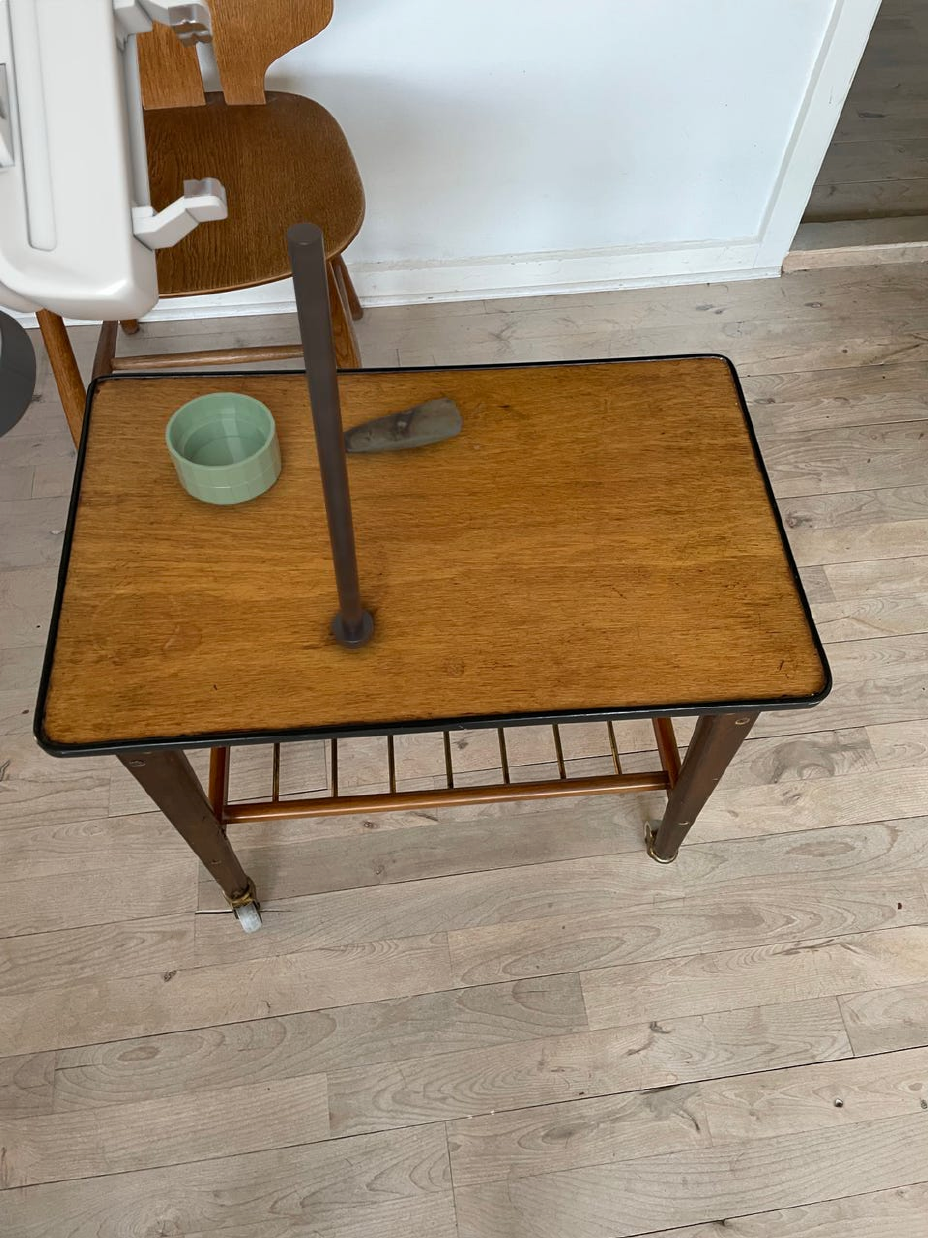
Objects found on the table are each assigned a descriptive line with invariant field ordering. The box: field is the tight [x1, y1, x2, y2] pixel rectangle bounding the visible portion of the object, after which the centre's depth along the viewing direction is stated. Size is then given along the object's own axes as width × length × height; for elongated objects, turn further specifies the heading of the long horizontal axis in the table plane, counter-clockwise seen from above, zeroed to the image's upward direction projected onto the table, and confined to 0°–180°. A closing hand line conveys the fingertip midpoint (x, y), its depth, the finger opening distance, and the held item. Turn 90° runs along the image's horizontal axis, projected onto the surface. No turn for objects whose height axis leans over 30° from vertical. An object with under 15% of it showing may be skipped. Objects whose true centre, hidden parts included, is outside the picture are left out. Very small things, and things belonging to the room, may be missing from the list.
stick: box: [285, 222, 375, 650], centre depth 59 cm, size 4×4×38 cm
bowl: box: [164, 391, 283, 506], centre depth 82 cm, size 10×10×6 cm
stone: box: [343, 397, 463, 455], centre depth 86 cm, size 13×5×2 cm, turn 112°
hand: (215, 107), depth 45 cm, fingers open, 8 cm apart
